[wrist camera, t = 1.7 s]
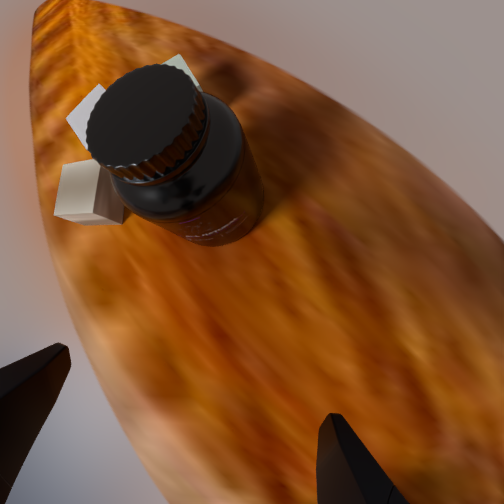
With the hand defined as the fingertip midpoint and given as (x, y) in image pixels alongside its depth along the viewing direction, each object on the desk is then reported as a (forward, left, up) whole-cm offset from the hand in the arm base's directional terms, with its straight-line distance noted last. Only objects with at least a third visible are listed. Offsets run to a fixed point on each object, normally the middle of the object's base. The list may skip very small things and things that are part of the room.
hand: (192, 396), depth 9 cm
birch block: (+12, +11, -11) cm, 20 cm away
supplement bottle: (+10, +1, -12) cm, 15 cm away
